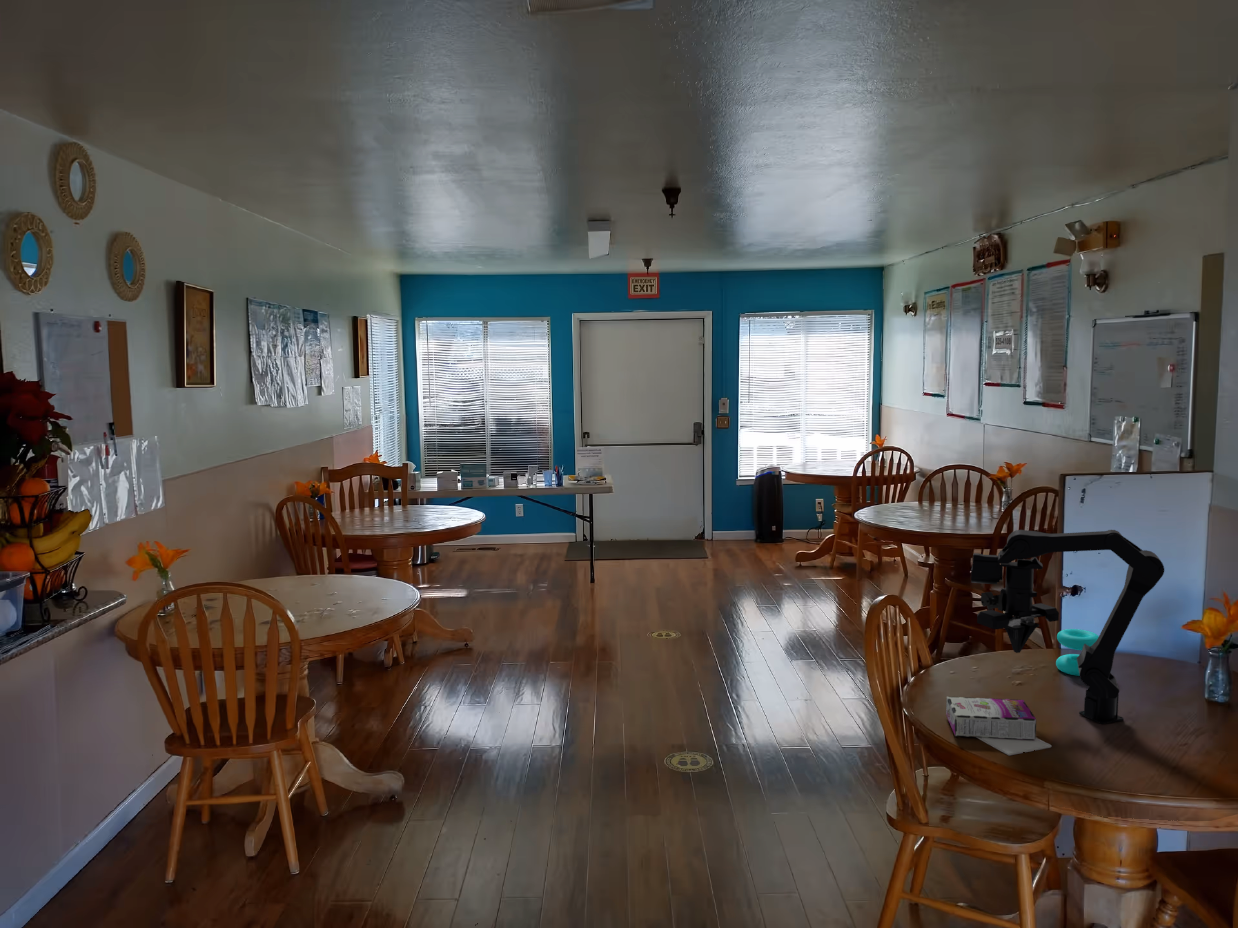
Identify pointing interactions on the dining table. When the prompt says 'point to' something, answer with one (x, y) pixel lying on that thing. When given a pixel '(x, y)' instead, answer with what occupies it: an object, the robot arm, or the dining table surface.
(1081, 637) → the donuts
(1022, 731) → the candy bar box
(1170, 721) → the dining table surface
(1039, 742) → the mat
